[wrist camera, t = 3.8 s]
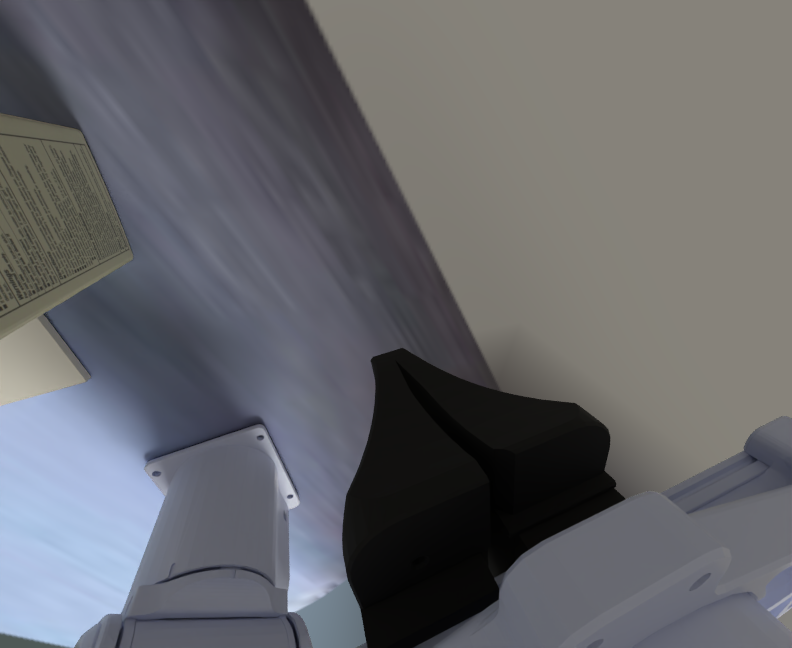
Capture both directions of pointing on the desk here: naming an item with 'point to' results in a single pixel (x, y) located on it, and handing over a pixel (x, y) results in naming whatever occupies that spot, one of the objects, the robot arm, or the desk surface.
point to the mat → (36, 362)
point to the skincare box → (51, 220)
